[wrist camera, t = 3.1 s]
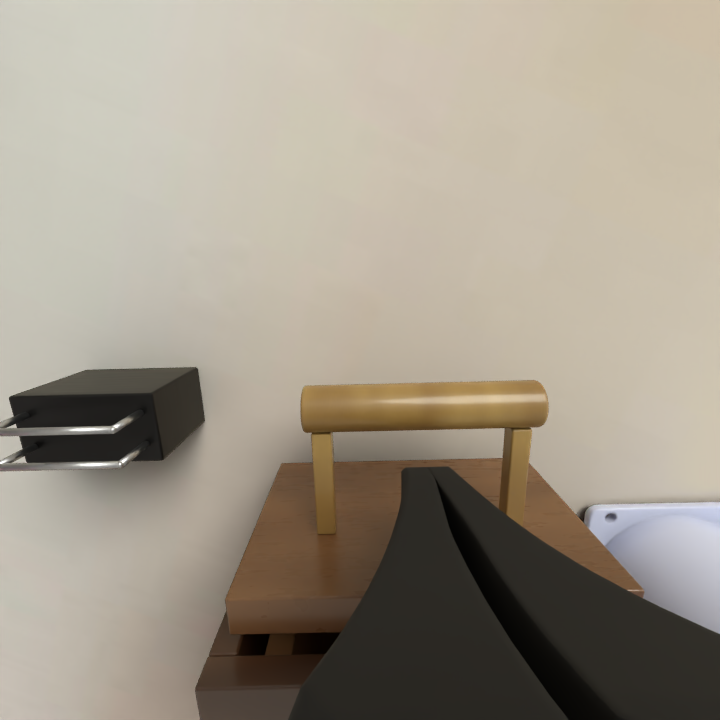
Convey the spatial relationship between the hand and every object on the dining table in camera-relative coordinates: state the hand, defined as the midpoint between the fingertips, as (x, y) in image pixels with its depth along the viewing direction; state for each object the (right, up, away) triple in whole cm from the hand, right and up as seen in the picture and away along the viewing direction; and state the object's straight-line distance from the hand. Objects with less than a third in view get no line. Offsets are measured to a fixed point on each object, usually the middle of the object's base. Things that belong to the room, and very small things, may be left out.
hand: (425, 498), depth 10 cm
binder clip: (-11, +2, +6) cm, 13 cm away
